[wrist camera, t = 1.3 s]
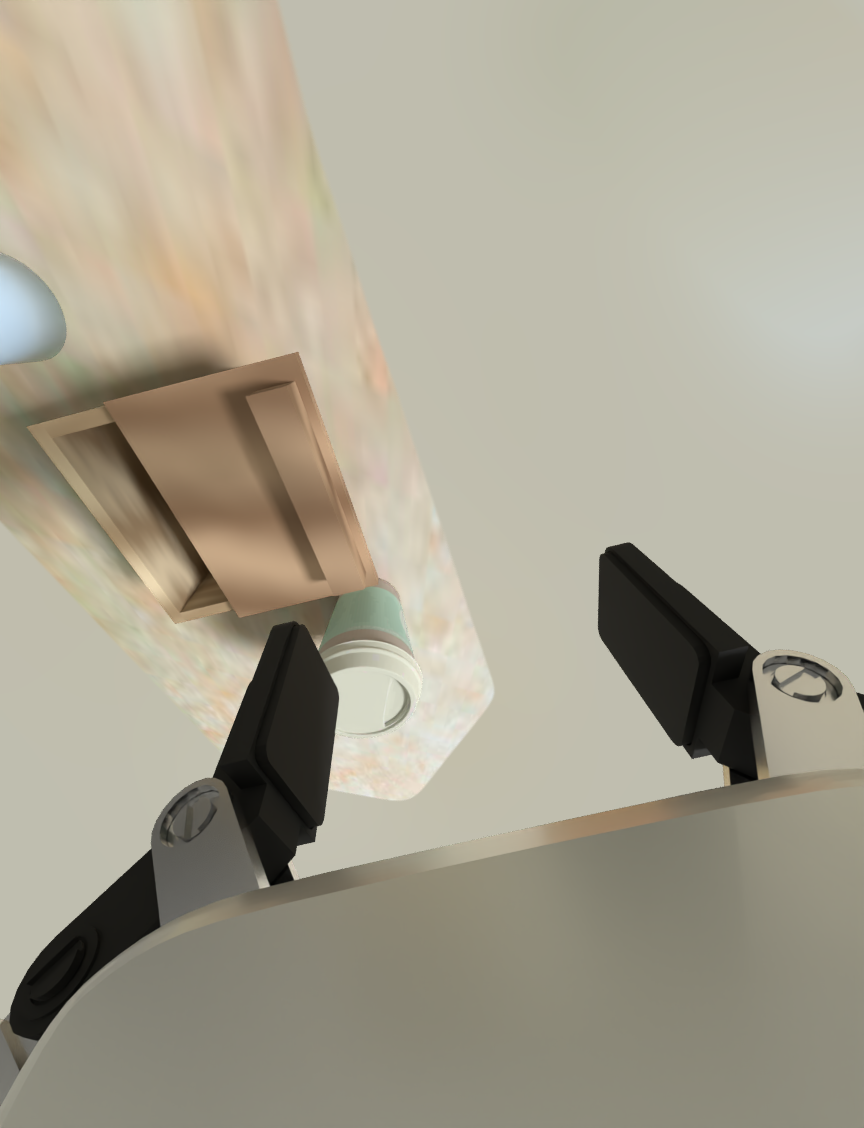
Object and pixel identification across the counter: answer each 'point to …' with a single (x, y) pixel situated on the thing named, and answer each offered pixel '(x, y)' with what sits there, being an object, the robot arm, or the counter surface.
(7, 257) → the pale blue rounded block
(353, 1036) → the robot arm
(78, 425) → the crate
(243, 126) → the counter surface
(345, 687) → the coffee cup
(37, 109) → the counter surface
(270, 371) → the lid
